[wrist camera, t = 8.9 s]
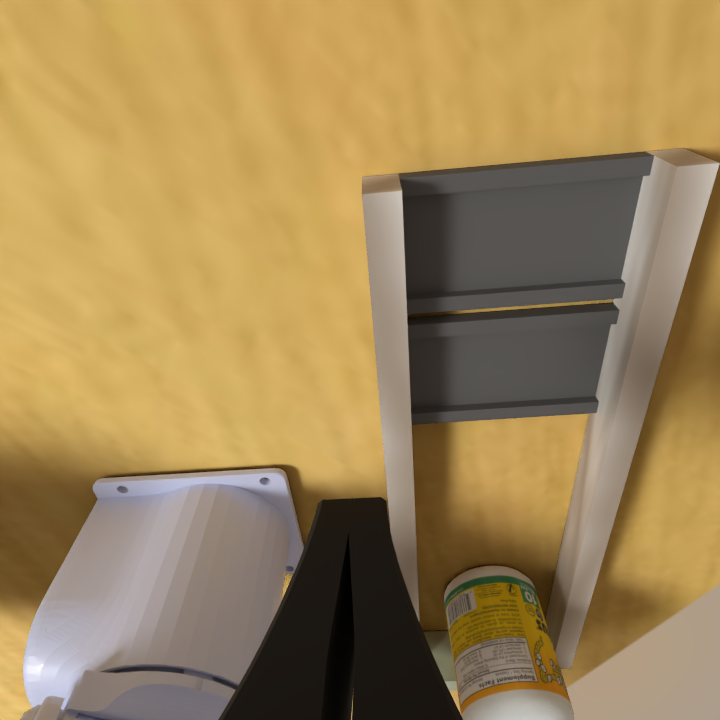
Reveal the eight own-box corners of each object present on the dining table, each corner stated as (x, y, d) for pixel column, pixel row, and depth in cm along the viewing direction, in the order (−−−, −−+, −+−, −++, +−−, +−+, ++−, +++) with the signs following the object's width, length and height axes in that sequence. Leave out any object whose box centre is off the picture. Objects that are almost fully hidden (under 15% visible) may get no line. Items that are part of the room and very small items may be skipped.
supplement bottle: (438, 568, 29) (468, 776, 21) (533, 556, 28) (601, 766, 21) (447, 618, 32) (477, 817, 24) (534, 609, 31) (593, 809, 23)
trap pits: (408, 415, 23) (409, 424, 22) (398, 173, 17) (399, 178, 16) (591, 404, 22) (596, 412, 22) (645, 151, 16) (654, 155, 16)
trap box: (400, 642, 34) (403, 692, 31) (362, 176, 17) (362, 204, 14) (560, 635, 33) (576, 685, 31) (683, 148, 16) (741, 171, 14)
